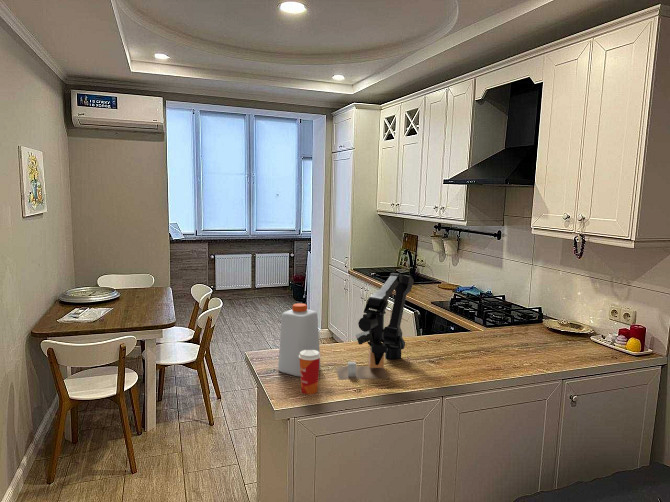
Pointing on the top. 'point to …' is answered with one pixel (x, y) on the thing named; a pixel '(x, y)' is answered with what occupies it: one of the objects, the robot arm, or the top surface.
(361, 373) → the walnut board
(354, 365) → the metal post
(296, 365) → the plastic bottle
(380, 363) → the square block
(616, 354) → the top surface
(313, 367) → the coffee cup
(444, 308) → the top surface
